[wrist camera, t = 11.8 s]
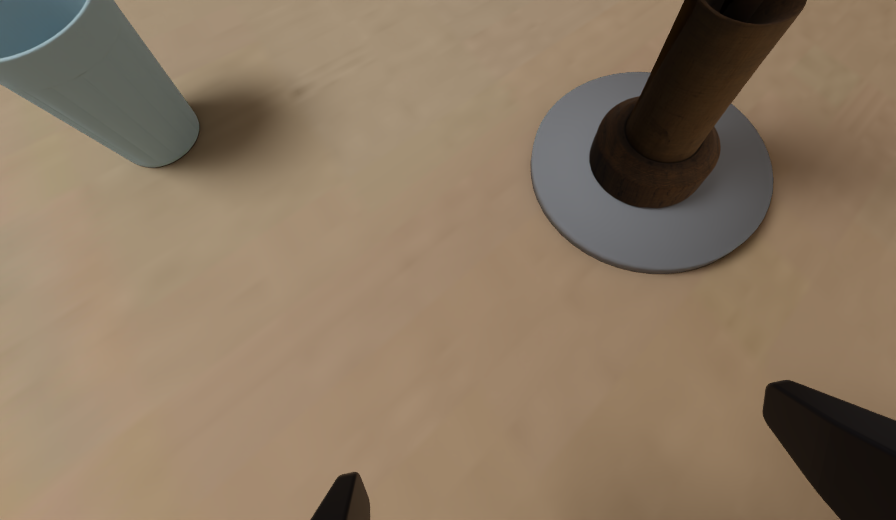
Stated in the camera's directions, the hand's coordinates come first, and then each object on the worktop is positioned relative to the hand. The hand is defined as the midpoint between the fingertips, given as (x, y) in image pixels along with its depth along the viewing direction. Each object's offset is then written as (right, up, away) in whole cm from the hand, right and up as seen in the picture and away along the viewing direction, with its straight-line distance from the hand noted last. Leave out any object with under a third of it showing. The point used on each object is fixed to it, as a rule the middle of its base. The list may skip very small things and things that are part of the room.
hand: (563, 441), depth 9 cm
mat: (+10, +10, +18) cm, 22 cm away
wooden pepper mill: (+9, +10, +17) cm, 22 cm away
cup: (-23, +13, +22) cm, 34 cm away
